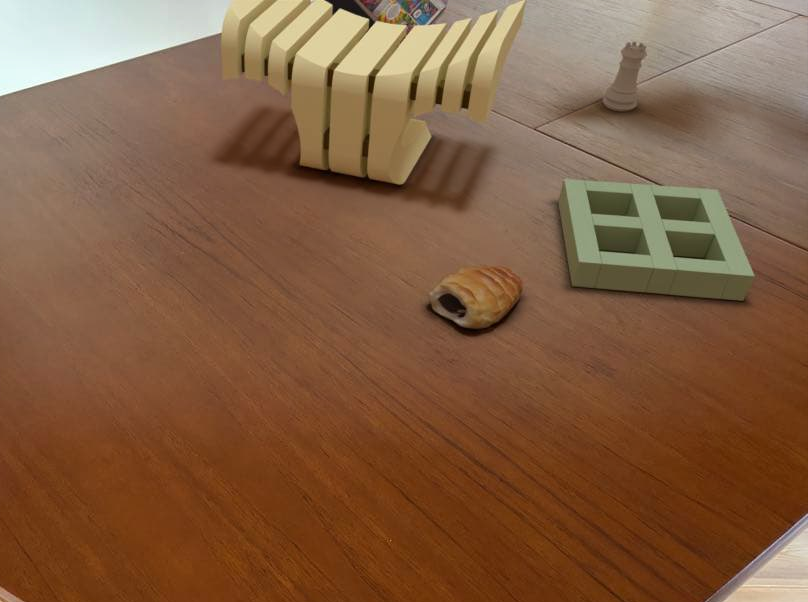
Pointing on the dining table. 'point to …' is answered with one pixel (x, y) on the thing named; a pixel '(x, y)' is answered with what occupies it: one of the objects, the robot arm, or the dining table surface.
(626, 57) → the rook chess piece
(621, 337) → the dining table surface
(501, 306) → the pastry
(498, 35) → the slatted curved stool
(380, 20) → the colorful printed box
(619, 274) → the window frame
